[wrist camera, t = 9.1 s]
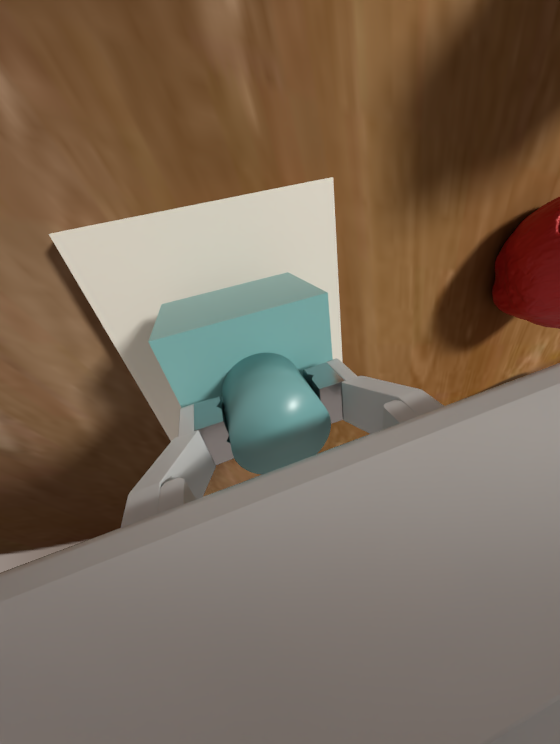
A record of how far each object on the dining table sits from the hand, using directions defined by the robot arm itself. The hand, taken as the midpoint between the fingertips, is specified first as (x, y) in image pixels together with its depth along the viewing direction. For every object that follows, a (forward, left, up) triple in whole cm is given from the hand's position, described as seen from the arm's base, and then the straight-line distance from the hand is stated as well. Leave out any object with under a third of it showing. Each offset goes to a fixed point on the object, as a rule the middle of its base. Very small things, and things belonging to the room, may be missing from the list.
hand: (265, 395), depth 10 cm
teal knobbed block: (0, 0, -5) cm, 5 cm away
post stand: (0, 0, -8) cm, 8 cm away
